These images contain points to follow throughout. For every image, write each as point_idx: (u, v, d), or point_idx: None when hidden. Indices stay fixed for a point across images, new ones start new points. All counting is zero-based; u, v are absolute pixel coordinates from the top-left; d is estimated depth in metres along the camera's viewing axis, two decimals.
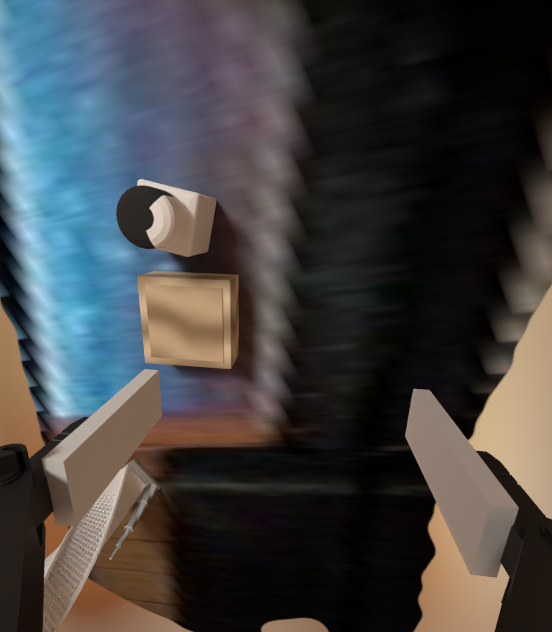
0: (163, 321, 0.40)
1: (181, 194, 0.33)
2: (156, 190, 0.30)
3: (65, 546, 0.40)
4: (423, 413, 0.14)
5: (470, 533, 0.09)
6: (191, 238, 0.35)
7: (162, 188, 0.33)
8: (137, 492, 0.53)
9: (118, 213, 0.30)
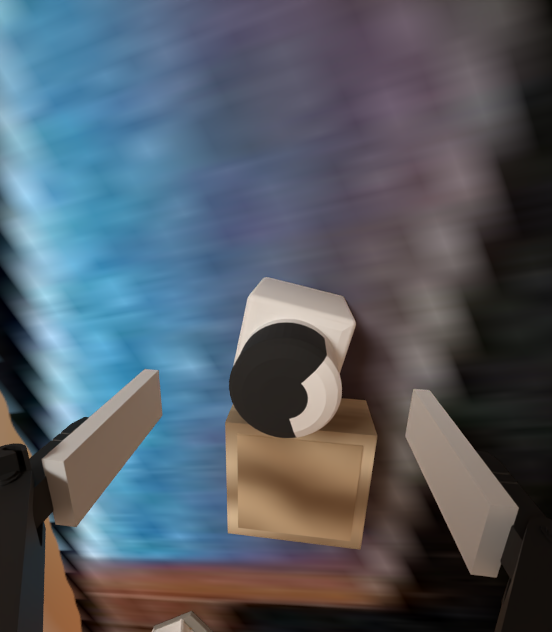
0: (261, 483, 0.26)
1: (326, 323, 0.19)
2: (313, 348, 0.15)
3: None
4: (423, 413, 0.13)
5: (470, 533, 0.09)
6: None
7: (292, 312, 0.19)
8: None
9: (236, 385, 0.16)
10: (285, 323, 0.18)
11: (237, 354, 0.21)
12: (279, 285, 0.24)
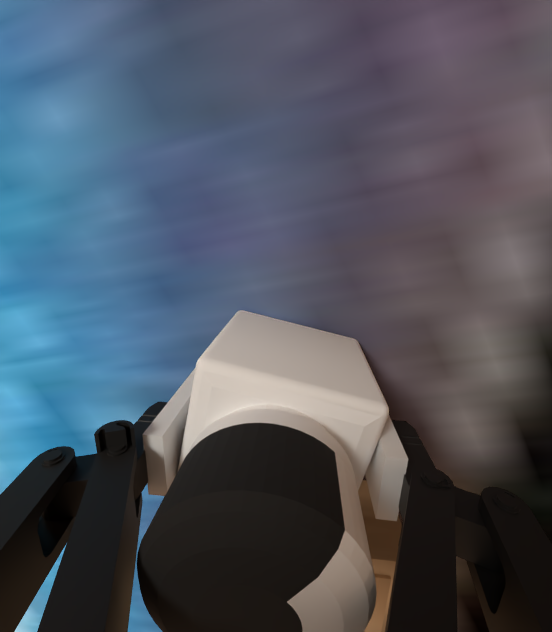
0: None
1: (336, 411, 0.11)
2: (315, 516, 0.07)
3: None
4: None
5: (376, 484, 0.11)
6: None
7: (276, 391, 0.11)
8: None
9: (146, 585, 0.07)
10: (258, 427, 0.09)
11: (182, 456, 0.12)
12: (259, 327, 0.15)
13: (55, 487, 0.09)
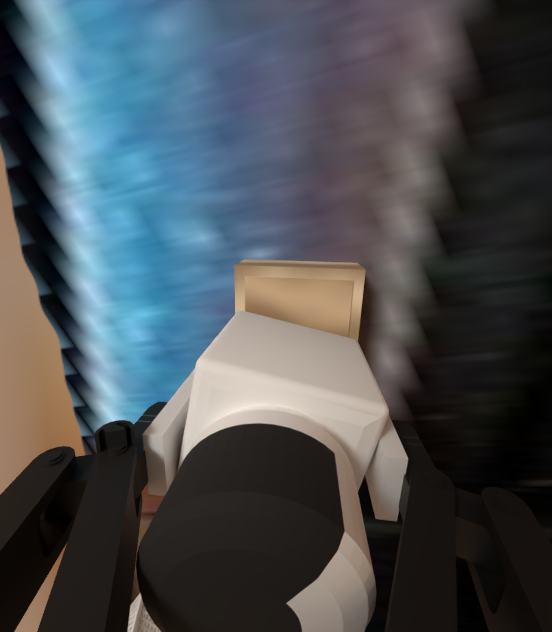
0: None
1: (335, 411, 0.11)
2: (315, 517, 0.07)
3: (139, 624, 0.30)
4: None
5: (376, 484, 0.11)
6: None
7: (275, 391, 0.11)
8: None
9: (145, 586, 0.07)
10: (258, 427, 0.09)
11: (181, 456, 0.12)
12: (258, 327, 0.15)
13: (55, 487, 0.09)
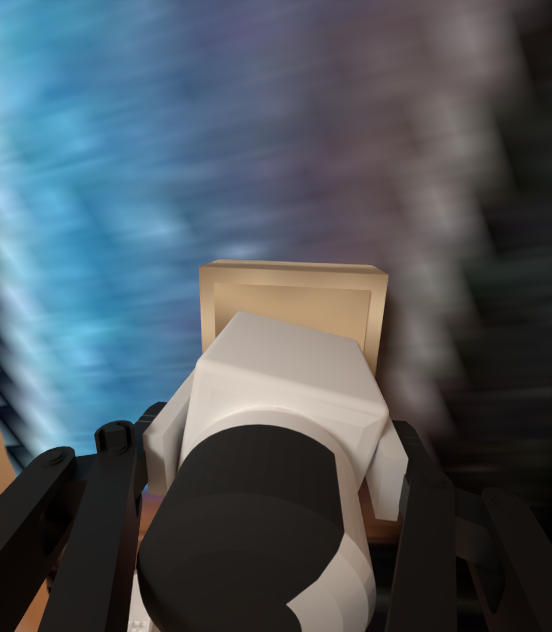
0: None
1: (335, 412, 0.11)
2: (315, 519, 0.07)
3: None
4: None
5: (376, 484, 0.11)
6: None
7: (275, 392, 0.11)
8: None
9: (146, 587, 0.07)
10: (258, 428, 0.09)
11: (181, 457, 0.12)
12: (258, 328, 0.15)
13: (55, 487, 0.09)
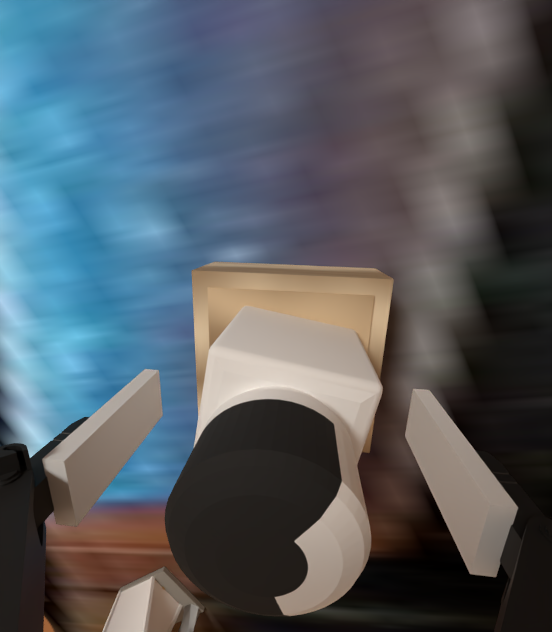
0: None
1: (335, 389, 0.12)
2: (316, 469, 0.08)
3: None
4: (423, 413, 0.14)
5: (469, 533, 0.10)
6: None
7: (280, 373, 0.12)
8: (169, 623, 0.33)
9: (174, 534, 0.09)
10: (266, 402, 0.10)
11: (197, 436, 0.13)
12: (263, 320, 0.16)
13: None
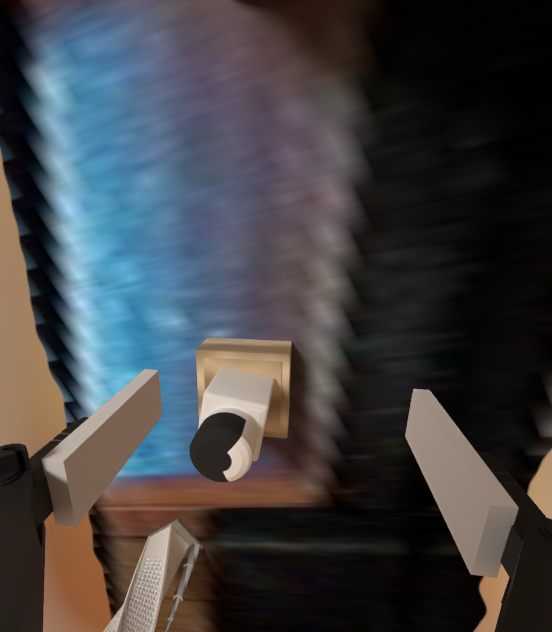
0: None
1: (250, 408, 0.32)
2: (233, 432, 0.28)
3: (121, 626, 0.39)
4: (423, 413, 0.14)
5: (470, 533, 0.09)
6: (259, 446, 0.33)
7: (230, 402, 0.32)
8: (181, 554, 0.52)
9: (192, 453, 0.29)
10: (222, 413, 0.30)
11: (199, 427, 0.33)
12: (228, 376, 0.37)
13: None
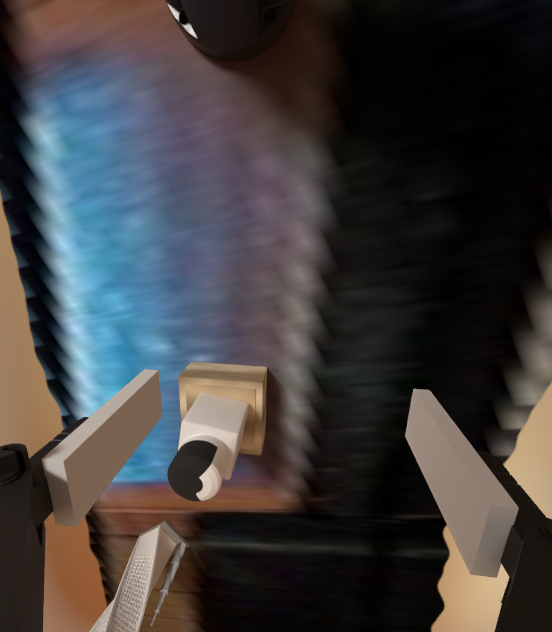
0: None
1: (222, 435, 0.36)
2: (204, 460, 0.32)
3: (112, 617, 0.44)
4: (423, 413, 0.14)
5: (470, 533, 0.09)
6: (231, 467, 0.38)
7: (205, 430, 0.36)
8: (169, 552, 0.57)
9: (170, 477, 0.33)
10: (197, 441, 0.35)
11: (178, 449, 0.38)
12: (206, 402, 0.41)
13: None
